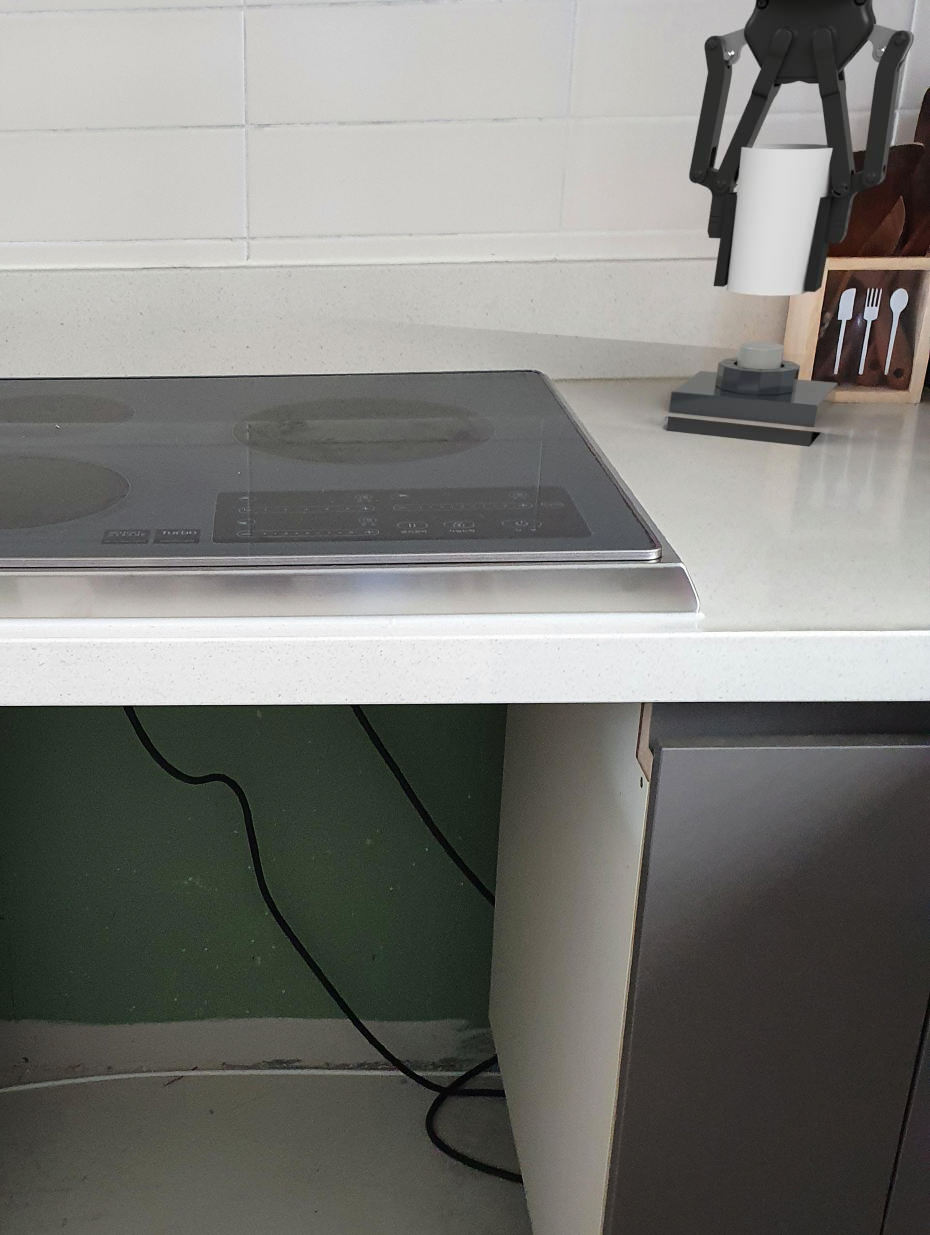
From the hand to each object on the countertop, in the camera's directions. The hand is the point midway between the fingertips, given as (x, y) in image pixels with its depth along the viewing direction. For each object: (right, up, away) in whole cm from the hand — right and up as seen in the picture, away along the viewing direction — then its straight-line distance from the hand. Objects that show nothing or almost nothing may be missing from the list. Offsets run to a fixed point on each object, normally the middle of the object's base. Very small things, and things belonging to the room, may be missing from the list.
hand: (766, 285), depth 102 cm
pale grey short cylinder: (+6, -2, +16) cm, 17 cm away
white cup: (0, 0, 0) cm, 0 cm away
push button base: (+6, -6, +18) cm, 21 cm away
